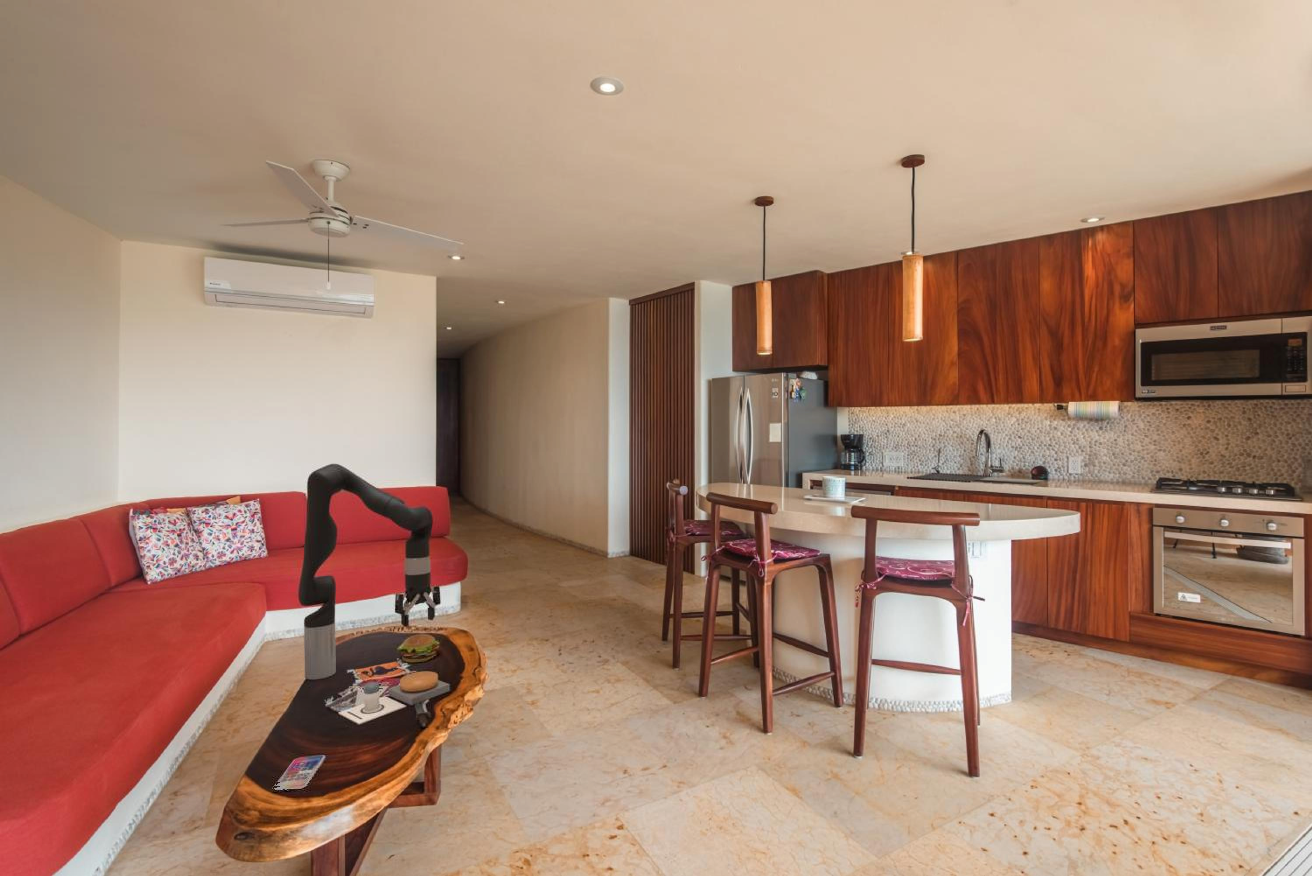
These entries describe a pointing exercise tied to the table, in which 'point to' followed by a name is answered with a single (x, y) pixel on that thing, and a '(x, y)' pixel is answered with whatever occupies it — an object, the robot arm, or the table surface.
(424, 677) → the button
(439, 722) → the table surface
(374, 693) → the beige capped tube
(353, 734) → the table surface
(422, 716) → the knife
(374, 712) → the paper
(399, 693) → the button base
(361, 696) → the gaming console
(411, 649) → the food
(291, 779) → the smartphone
